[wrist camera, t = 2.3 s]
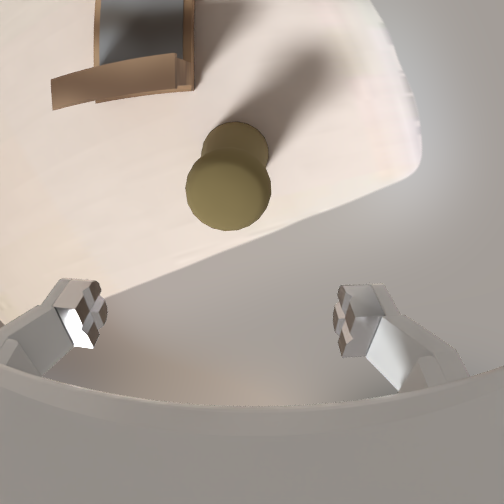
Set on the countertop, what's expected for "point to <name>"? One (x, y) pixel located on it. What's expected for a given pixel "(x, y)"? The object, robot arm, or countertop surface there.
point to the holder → (134, 53)
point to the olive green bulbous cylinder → (230, 178)
